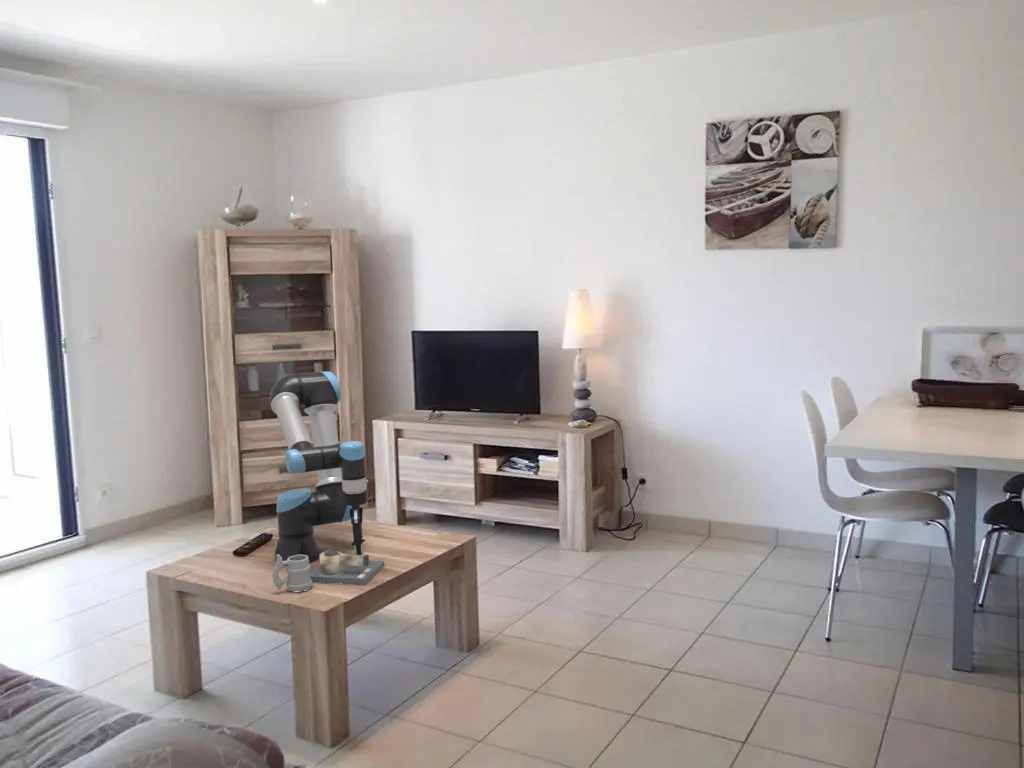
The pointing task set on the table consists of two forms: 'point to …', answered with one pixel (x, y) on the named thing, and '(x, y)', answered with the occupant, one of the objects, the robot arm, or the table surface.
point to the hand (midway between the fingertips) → (359, 563)
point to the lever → (340, 561)
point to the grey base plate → (349, 574)
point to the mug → (293, 573)
